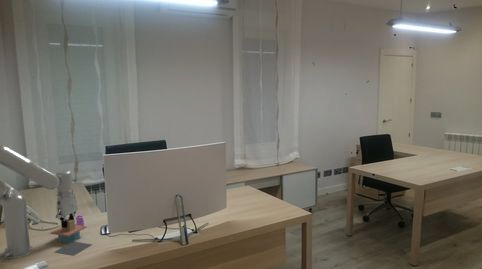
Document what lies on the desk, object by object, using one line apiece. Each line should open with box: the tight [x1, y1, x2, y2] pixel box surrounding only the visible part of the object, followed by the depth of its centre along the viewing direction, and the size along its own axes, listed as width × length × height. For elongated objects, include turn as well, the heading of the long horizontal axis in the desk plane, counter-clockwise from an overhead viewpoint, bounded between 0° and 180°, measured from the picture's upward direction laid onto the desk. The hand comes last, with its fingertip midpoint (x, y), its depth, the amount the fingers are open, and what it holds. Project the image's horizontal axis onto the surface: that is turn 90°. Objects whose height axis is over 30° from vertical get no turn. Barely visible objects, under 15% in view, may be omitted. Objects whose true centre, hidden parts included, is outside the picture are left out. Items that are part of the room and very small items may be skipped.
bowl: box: [57, 231, 81, 243], centre depth 188 cm, size 10×10×5 cm
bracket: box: [75, 214, 85, 226], centre depth 203 cm, size 13×6×7 cm, turn 119°
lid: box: [49, 218, 87, 237], centre depth 187 cm, size 12×12×6 cm
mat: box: [53, 241, 93, 257], centre depth 176 cm, size 13×13×1 cm
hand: (68, 225), depth 187 cm, fingers open, 4 cm apart
